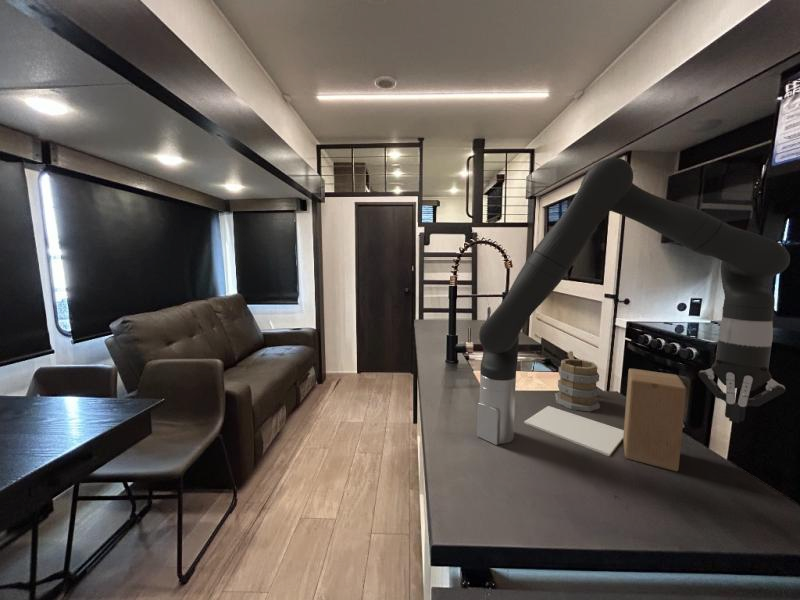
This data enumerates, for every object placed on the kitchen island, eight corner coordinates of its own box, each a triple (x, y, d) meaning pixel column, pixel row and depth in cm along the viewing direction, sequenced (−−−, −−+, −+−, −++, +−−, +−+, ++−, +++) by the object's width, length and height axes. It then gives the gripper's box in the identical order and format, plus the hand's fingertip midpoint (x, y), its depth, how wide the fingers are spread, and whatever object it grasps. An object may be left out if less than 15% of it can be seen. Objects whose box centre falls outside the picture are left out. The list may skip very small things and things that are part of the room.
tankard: (602, 413, 101) (605, 367, 100) (558, 408, 105) (560, 363, 104) (588, 390, 120) (590, 351, 118) (551, 386, 124) (553, 348, 123)
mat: (609, 456, 79) (609, 454, 79) (524, 423, 95) (524, 421, 95) (627, 433, 89) (627, 431, 89) (548, 407, 106) (548, 405, 106)
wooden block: (678, 472, 73) (687, 387, 70) (624, 458, 78) (631, 379, 76) (671, 451, 81) (678, 374, 79) (622, 439, 86) (628, 367, 84)
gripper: (697, 337, 68) (689, 415, 70) (795, 350, 58) (783, 440, 60) (702, 332, 73) (694, 405, 75) (793, 343, 63) (782, 426, 65)
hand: (734, 420), depth 68 cm, fingers closed
